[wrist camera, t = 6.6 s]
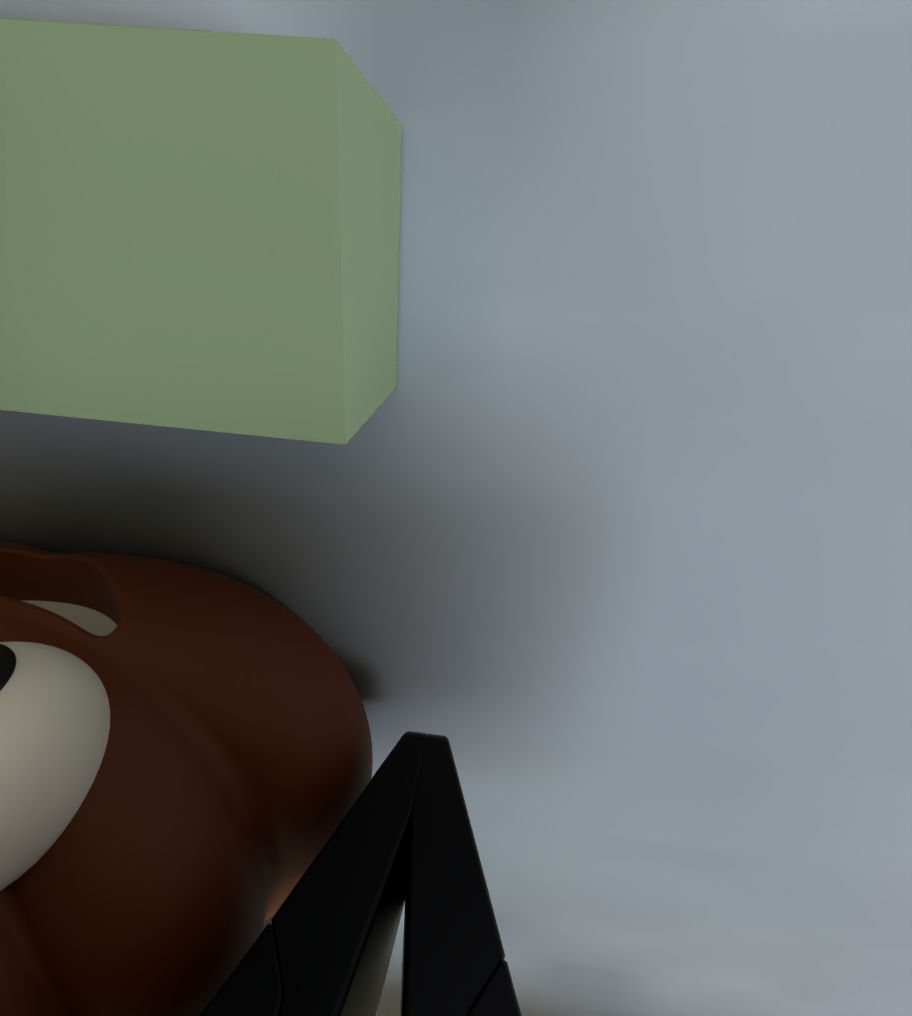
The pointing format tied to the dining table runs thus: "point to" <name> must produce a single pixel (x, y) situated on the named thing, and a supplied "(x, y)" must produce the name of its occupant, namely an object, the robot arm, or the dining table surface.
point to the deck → (196, 231)
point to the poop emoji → (156, 777)
